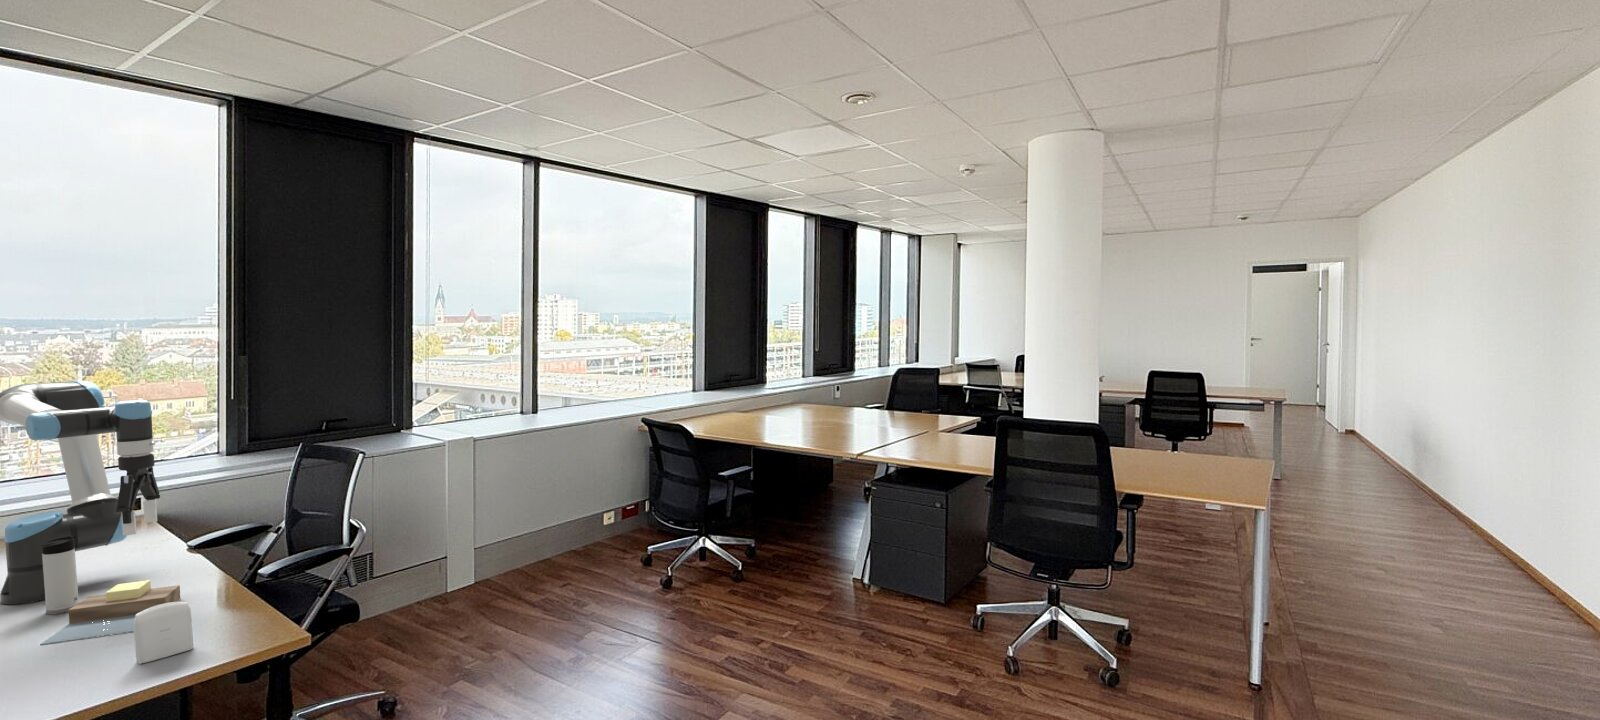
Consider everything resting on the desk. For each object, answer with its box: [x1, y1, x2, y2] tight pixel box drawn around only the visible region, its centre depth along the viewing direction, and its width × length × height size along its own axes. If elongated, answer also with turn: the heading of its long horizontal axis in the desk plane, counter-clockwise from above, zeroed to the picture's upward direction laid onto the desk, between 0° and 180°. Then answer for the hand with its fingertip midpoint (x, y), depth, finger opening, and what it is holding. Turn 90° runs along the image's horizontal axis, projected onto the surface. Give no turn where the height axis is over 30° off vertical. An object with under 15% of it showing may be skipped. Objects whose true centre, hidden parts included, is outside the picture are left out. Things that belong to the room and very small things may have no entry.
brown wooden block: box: [67, 584, 181, 624], centre depth 195 cm, size 10×20×4 cm, turn 113°
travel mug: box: [42, 536, 79, 615], centre depth 196 cm, size 6×7×20 cm
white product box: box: [133, 601, 194, 665], centre depth 169 cm, size 10×4×12 cm, turn 140°
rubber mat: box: [39, 615, 135, 646], centre depth 185 cm, size 13×20×1 cm, turn 113°
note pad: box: [105, 579, 152, 602], centre depth 197 cm, size 7×7×2 cm
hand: (140, 528), depth 204 cm, fingers open, 13 cm apart
